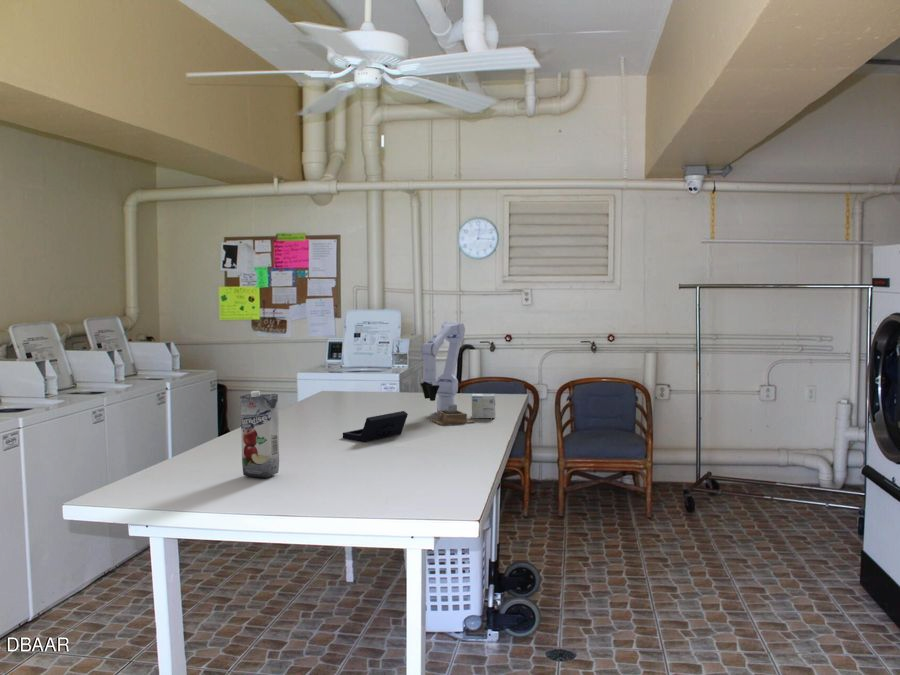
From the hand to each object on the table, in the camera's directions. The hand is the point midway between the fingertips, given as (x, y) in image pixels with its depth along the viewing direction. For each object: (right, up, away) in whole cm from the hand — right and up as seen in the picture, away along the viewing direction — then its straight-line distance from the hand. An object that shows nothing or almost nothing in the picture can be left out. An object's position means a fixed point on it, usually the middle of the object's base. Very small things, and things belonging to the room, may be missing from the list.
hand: (429, 399), depth 331 cm
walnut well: (+10, -10, -3) cm, 14 cm away
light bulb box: (+25, -9, +6) cm, 27 cm away
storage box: (-21, -12, -36) cm, 44 cm away
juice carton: (-51, -16, -97) cm, 111 cm away
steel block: (+10, -9, -3) cm, 14 cm away
